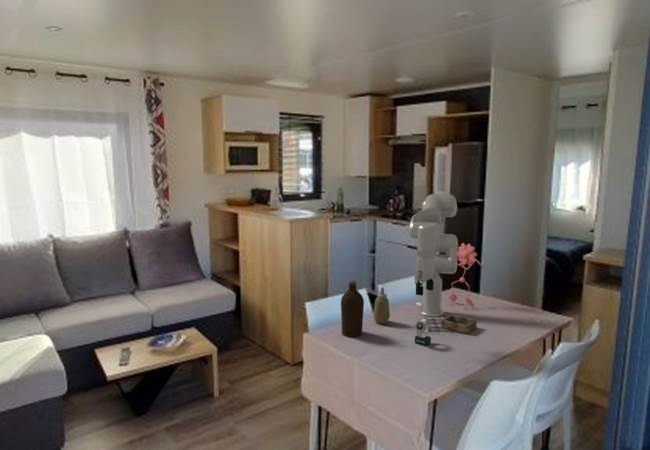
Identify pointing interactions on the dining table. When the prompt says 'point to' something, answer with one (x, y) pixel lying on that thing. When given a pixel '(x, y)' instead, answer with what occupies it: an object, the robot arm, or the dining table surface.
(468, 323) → the wooden tray
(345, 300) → the olive oil
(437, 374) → the dining table surface
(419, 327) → the watch
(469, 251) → the figurine
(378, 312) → the squeeze bottle
